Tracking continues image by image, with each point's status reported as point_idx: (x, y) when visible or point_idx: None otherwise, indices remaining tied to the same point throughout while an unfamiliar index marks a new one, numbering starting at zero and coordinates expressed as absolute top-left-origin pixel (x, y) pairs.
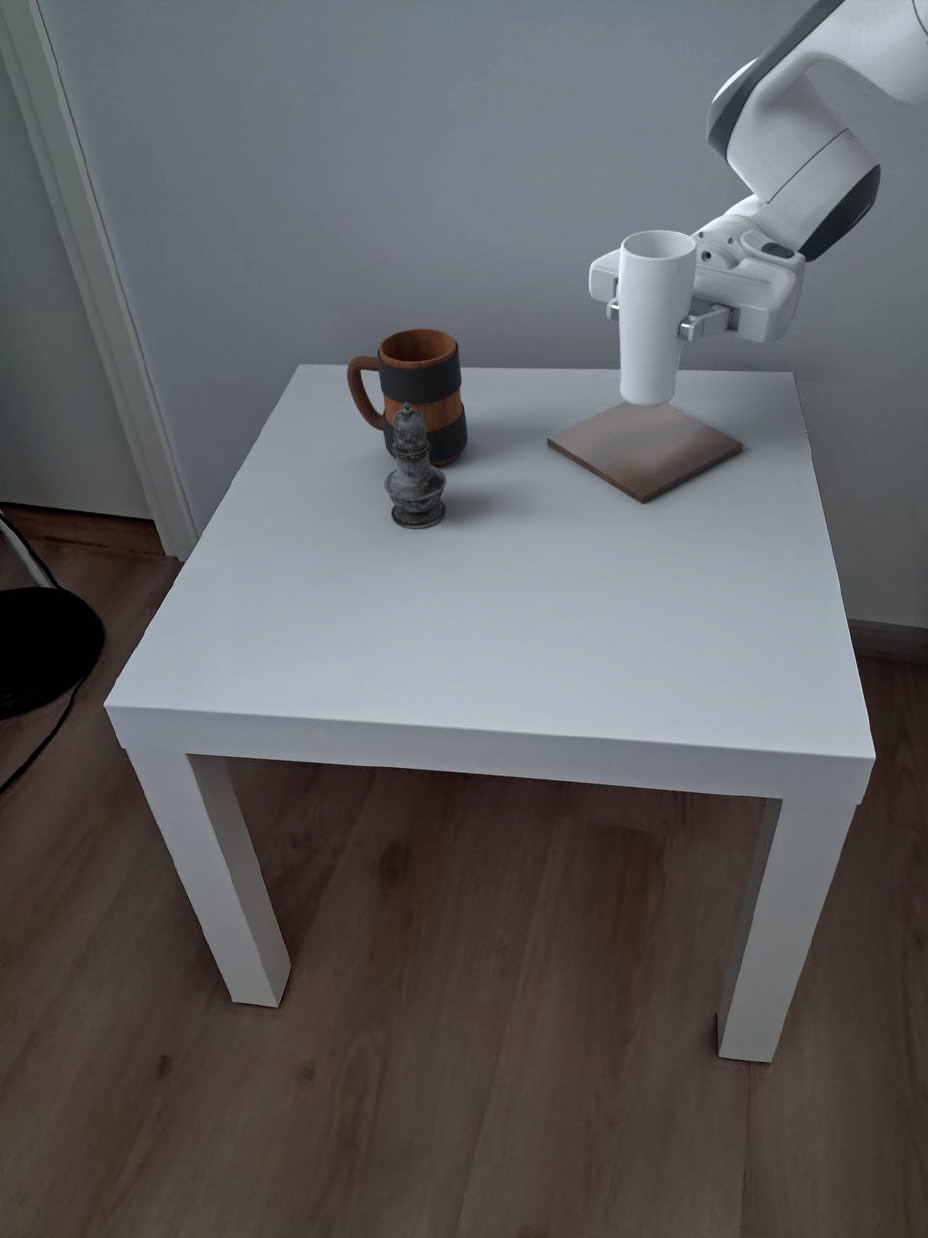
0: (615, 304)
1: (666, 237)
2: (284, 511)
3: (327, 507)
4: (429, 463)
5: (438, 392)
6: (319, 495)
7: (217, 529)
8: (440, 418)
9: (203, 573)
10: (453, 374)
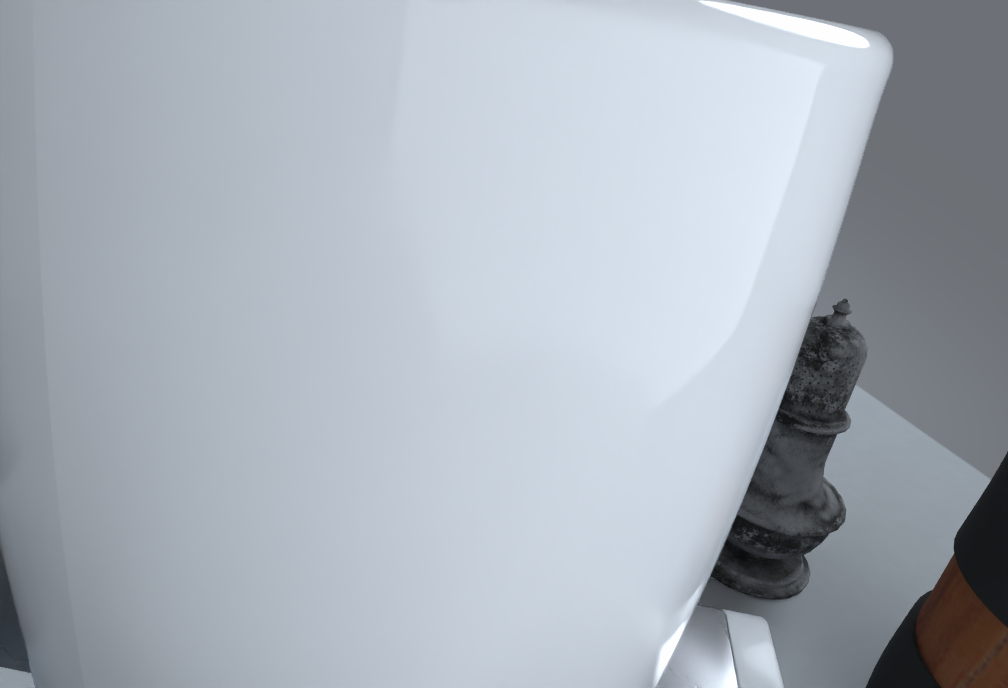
0: (698, 607)
1: (491, 101)
2: (942, 509)
3: (900, 531)
4: (763, 454)
5: (968, 521)
6: (952, 554)
7: (963, 461)
8: (932, 598)
9: (866, 402)
10: (1005, 536)
